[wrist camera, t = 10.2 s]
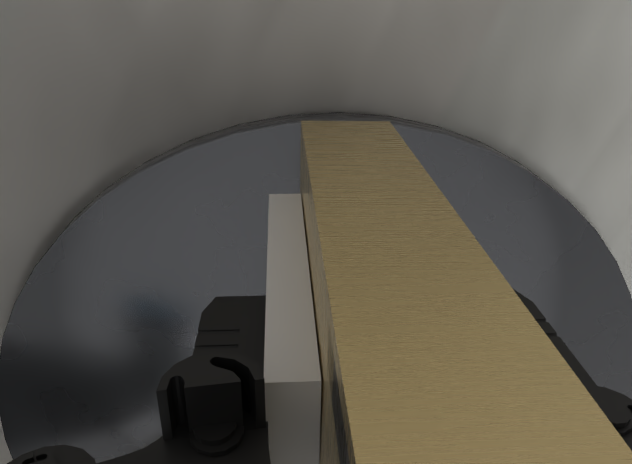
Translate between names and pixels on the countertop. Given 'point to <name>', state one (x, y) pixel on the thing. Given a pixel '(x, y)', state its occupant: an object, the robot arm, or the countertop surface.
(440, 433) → the knob
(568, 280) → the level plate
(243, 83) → the countertop surface
